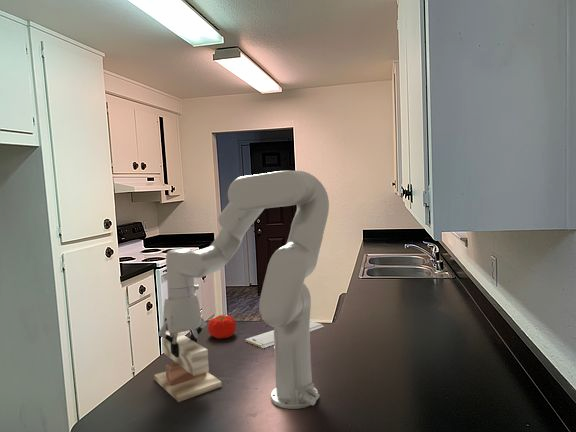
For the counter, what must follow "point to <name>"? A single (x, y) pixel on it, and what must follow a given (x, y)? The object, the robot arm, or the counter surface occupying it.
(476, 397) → the counter surface
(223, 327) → the tomato
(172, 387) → the ridge stand
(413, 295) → the counter surface
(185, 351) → the birch bar
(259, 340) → the baseboard molding
